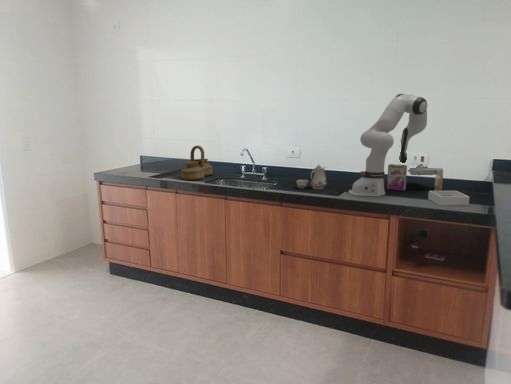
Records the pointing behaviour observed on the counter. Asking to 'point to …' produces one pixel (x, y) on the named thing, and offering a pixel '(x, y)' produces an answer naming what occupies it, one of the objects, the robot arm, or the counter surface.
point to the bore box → (448, 198)
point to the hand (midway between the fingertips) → (430, 173)
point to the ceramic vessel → (196, 166)
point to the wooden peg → (438, 182)
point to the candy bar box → (396, 177)
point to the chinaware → (315, 179)
